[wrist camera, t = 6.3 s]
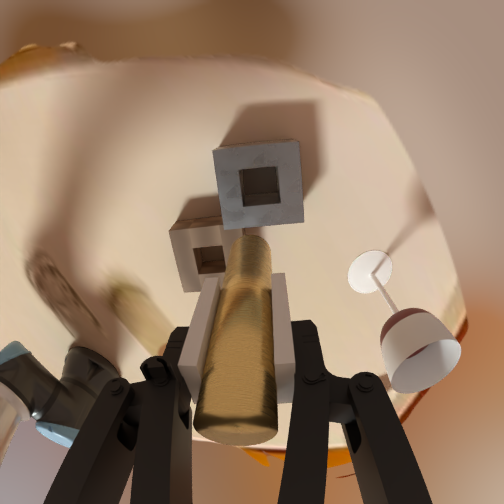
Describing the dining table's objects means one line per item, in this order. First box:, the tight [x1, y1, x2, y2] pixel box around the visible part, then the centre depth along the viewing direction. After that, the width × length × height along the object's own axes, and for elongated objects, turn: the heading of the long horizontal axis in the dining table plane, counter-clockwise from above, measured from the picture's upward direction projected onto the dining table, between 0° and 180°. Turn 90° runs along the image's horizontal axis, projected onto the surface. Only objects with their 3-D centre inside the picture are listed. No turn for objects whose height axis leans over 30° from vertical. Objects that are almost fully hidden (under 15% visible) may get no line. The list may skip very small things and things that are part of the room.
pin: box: [193, 235, 278, 446], centre depth 15 cm, size 3×3×14 cm
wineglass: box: [348, 250, 461, 393], centre depth 35 cm, size 9×10×22 cm
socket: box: [212, 139, 304, 230], centre depth 36 cm, size 10×10×6 cm
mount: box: [169, 216, 245, 292], centre depth 41 cm, size 10×10×4 cm
